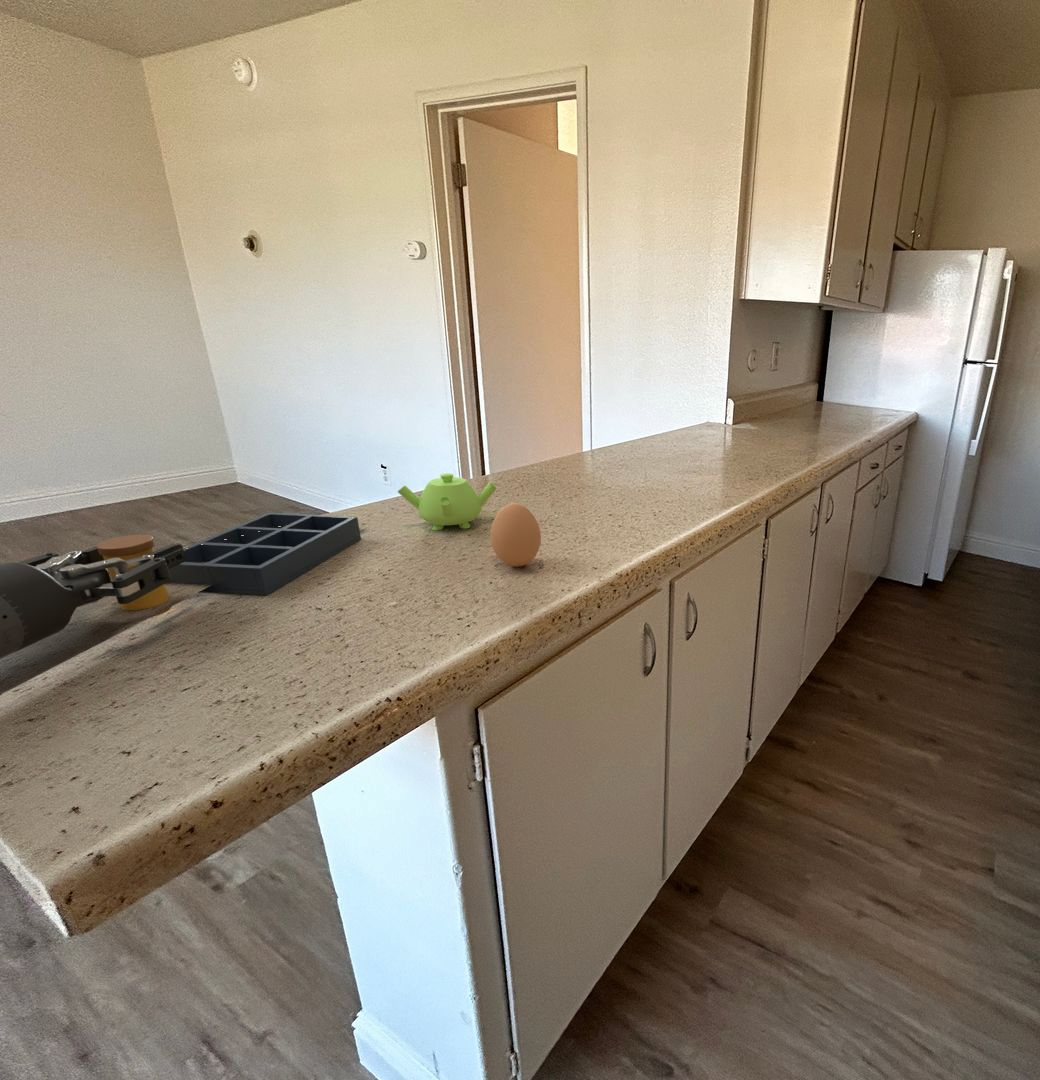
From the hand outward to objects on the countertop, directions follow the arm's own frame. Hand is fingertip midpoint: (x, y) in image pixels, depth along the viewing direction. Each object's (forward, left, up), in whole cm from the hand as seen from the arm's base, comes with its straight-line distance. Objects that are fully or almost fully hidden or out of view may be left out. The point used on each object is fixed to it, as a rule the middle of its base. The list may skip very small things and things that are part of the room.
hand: (150, 550), depth 67 cm
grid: (+3, +13, -7) cm, 15 cm away
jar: (0, -2, -7) cm, 7 cm away
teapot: (+20, +31, -7) cm, 37 cm away
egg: (+36, +16, -7) cm, 40 cm away
